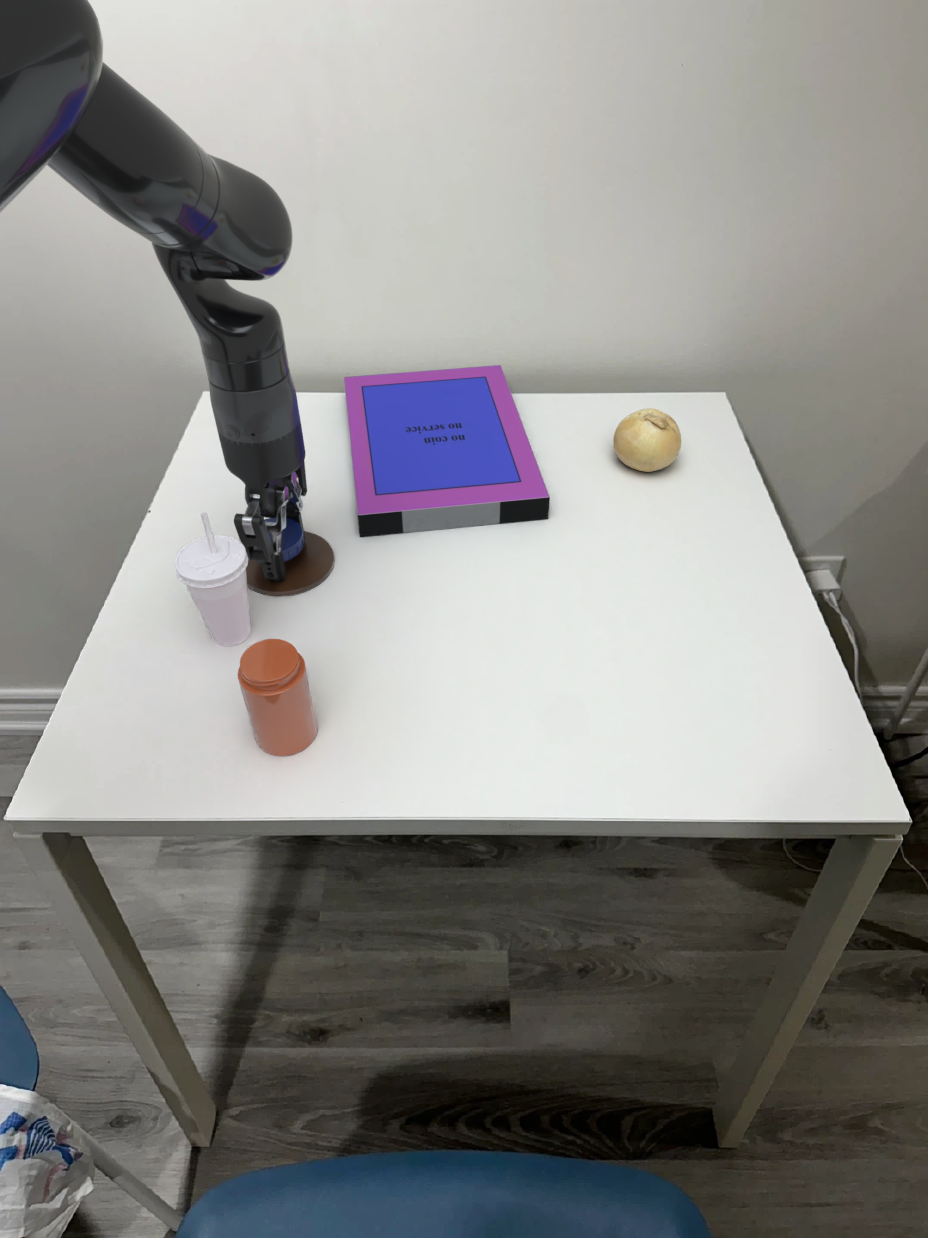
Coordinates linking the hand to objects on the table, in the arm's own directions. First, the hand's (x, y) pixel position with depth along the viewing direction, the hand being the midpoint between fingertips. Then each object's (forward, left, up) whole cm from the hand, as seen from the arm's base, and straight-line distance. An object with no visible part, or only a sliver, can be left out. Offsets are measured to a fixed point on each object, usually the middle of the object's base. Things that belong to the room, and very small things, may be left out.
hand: (285, 558), depth 89 cm
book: (+12, +23, -1) cm, 26 cm away
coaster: (0, 0, -1) cm, 1 cm away
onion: (+37, +25, -1) cm, 45 cm away
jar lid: (-1, 0, +3) cm, 3 cm away
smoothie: (-2, -11, -1) cm, 11 cm away
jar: (+7, -21, -1) cm, 22 cm away
